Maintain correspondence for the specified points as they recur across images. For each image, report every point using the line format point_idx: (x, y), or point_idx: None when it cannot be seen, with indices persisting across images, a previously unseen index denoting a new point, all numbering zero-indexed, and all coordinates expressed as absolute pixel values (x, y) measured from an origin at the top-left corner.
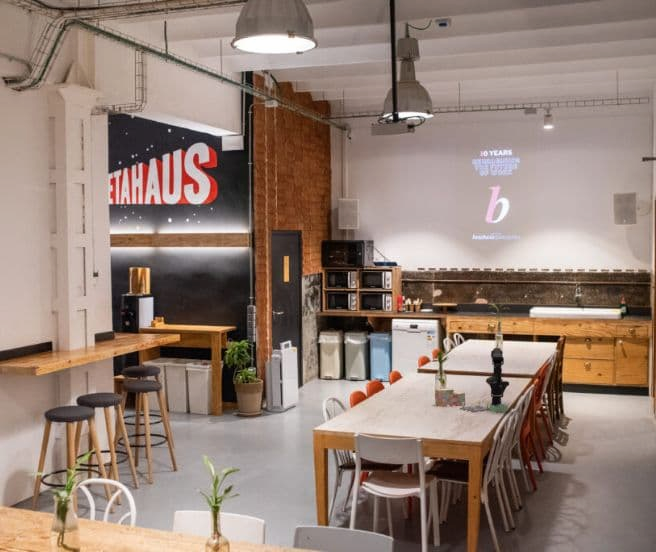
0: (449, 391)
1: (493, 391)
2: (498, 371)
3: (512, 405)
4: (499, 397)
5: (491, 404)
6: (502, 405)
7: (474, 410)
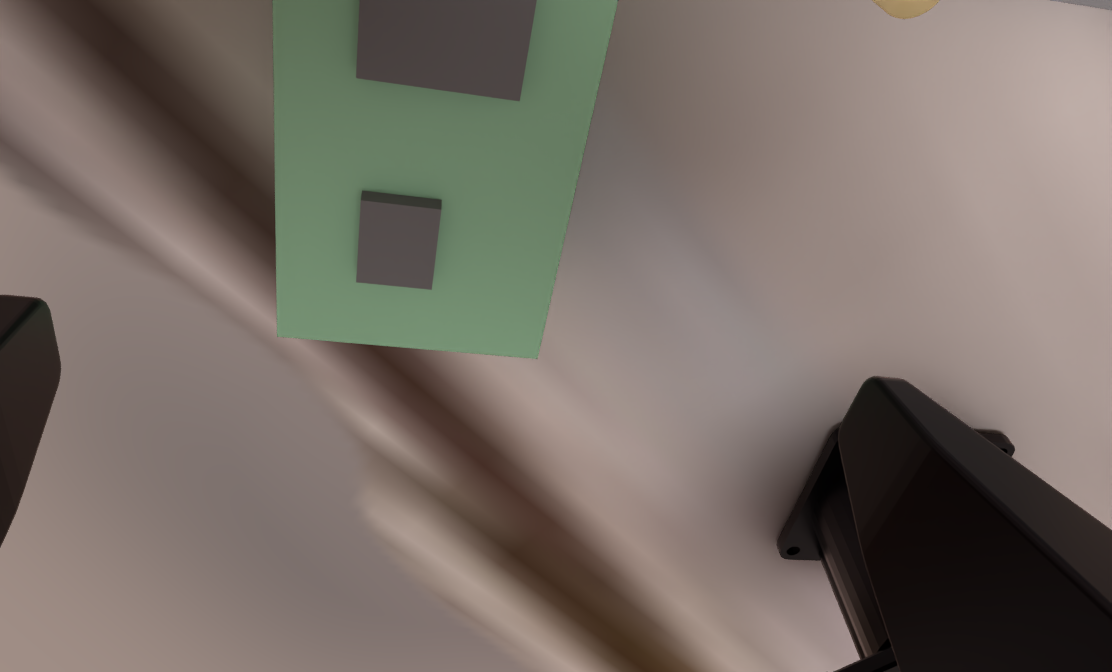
0: None
1: (878, 482)
2: None
3: (628, 627)
4: (876, 645)
5: (985, 437)
6: (360, 209)
7: None
